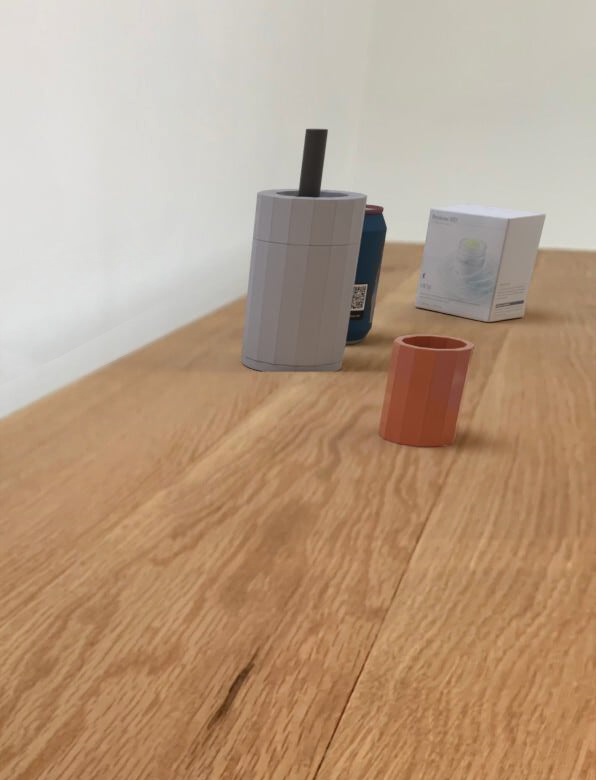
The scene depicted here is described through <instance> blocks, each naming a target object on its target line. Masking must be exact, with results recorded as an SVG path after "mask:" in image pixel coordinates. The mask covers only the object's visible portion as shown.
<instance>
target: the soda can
mask: <svg viewBox="0 0 596 780" xmlns="http://www.w3.org/2000/svg"><path fill="white" fill-rule="evenodd" d="M384 208H385V207H384V206H381V205H375V204H367V203H366V208H365V215H364V222H363V229H362V235H361V240H360V241H361V242H360V249H359V256H358V263H357V269H356V276H355V283H354V290H353V297H352V303H351V310H350V317H349V324H348V331H347V338H346V344H345V345H355V344H360V343H361V342H363V340H364V339H365V338H366V336H367V335H368V334H369V332H370V331H371V329H372V327H373V321H374V314H375V307H376V302H377V295H378V289H379V284H380V283H379V282H380V278H381V277H380V276H381V269H382V263H383V257H384V250H385V245H386V244H385V243H386V238H387V231H388V227H387V222H386V220H385V216H384V210H385V209H384ZM359 342H360V343H359Z"/></svg>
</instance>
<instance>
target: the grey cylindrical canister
mask: <svg viewBox="0 0 596 780" xmlns="http://www.w3.org/2000/svg"><path fill="white" fill-rule="evenodd" d="M298 192H299V188H277V189H274V188H273V189H265V190H260V191H258V192H257V195H256V203H255V211H254V212H255V214H254V222H253V233H252V242H251V253H250V262H249V263H250V264H249V273H248V284H247V293H246V301H245V302H246V303H245V311H244V322H243V332H242V342H241V364H242V365H243V366H245V367H247V368H249V369H252V370H255V371H259V372H264V373H282V372H283V373H286V372H287V373H289V372H290V373H293V372H295V373H311V372H313V373H314V372H315V373H316V372H317V373H320V372H321V373H322V372H325V373H326V372H327V373H328V372H329V373H330V372H331V373H333V372H334V373H335V372H338V371H339V370H341V369H342V366H343V359H344V357H345V352H346V351H345V350H346V345H347V344H346V338H347V331H348V324H349V317H350V310H351V303H352V297H353V290H354V283H355V276H356V269H357V263H358V256H359V249H360V242H361V241H360V240H361V235H362V229H363V222H364V215H365V208H366V204H367V201H368V195H367V194H364V193H361V192H357V191H349V190H348V191H346V190H336V189H321V190H320V197H298Z"/></svg>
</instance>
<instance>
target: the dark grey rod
mask: <svg viewBox="0 0 596 780" xmlns="http://www.w3.org/2000/svg"><path fill="white" fill-rule="evenodd" d="M304 133H305V134H304V140H303V141H304V143H303V144H304V145H303V151H302V161H301V167H300V176H299V185H298V189H299V192H298V197H320V190H322V181H323V174H324V165H325V157H326V150H327V141H328V135H329V129H328V128H306V129H305V132H304Z"/></svg>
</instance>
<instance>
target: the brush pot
mask: <svg viewBox="0 0 596 780" xmlns="http://www.w3.org/2000/svg"><path fill="white" fill-rule="evenodd" d="M475 346H476V345H475V344H474V343H473V342H471V341H470V340H467V339H463V338H459V337H454V336H448V335H439V334H406V335H400V336H397V337H395V339H394V340H393V344H392V348H391V349H392V350H391V356H390V359H389V360H390V362H389V366H388V367H389V368H388V374H387V379H386V385H385V390H384V397H383V401H382V402H383V403H382V408H381V414H380V420H379V426H378V436H379V437H380V438H382V439H383V440H385V441H387V442H390V443H393V444H396V445H400V446H406V447H413V448H441V447H447V446H449V445H452V444H453V443H454V442H455V440H456V438H457V433H458V428H459V424H460V418H461V413H462V409H463V404H464V400H465V399H464V398H465V394H466V390H467V385H468V381H469V380H468V379H469V375H470V370H471V366H472V360H473V356H474V350H475Z"/></svg>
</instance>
